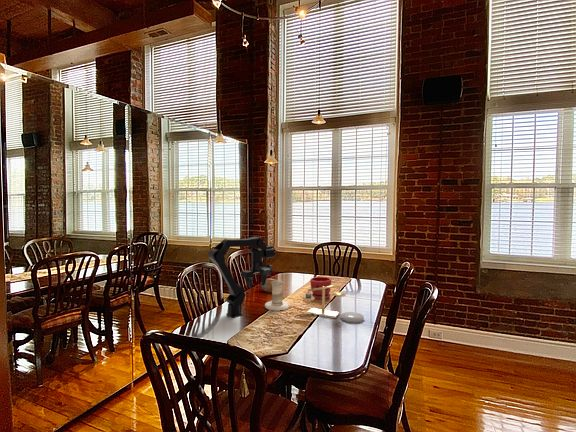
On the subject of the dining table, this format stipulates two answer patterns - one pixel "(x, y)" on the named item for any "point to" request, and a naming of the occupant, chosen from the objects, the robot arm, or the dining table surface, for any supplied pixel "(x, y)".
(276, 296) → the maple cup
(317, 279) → the plant pot
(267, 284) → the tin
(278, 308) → the cream dish
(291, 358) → the dining table surface
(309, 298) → the brass balance
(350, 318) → the slate dish
